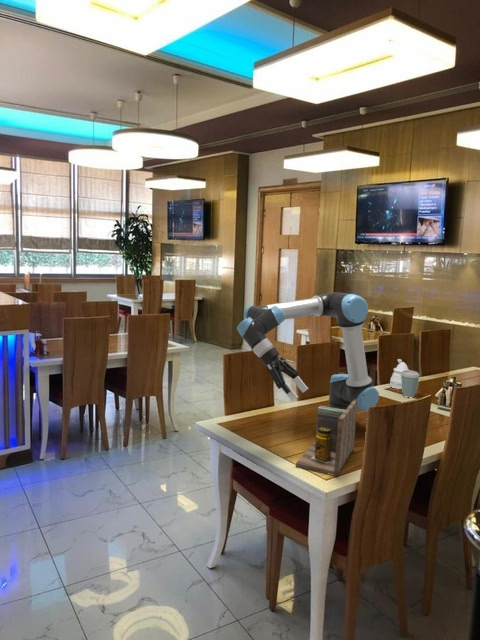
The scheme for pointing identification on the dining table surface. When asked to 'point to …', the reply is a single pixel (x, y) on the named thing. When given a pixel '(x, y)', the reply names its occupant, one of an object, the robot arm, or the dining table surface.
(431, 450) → the dining table surface
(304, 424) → the dining table surface
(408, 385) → the disposable coffee cup
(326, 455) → the condiment
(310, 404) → the dining table surface
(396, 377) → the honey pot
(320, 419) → the wooden l-shaped bookend
